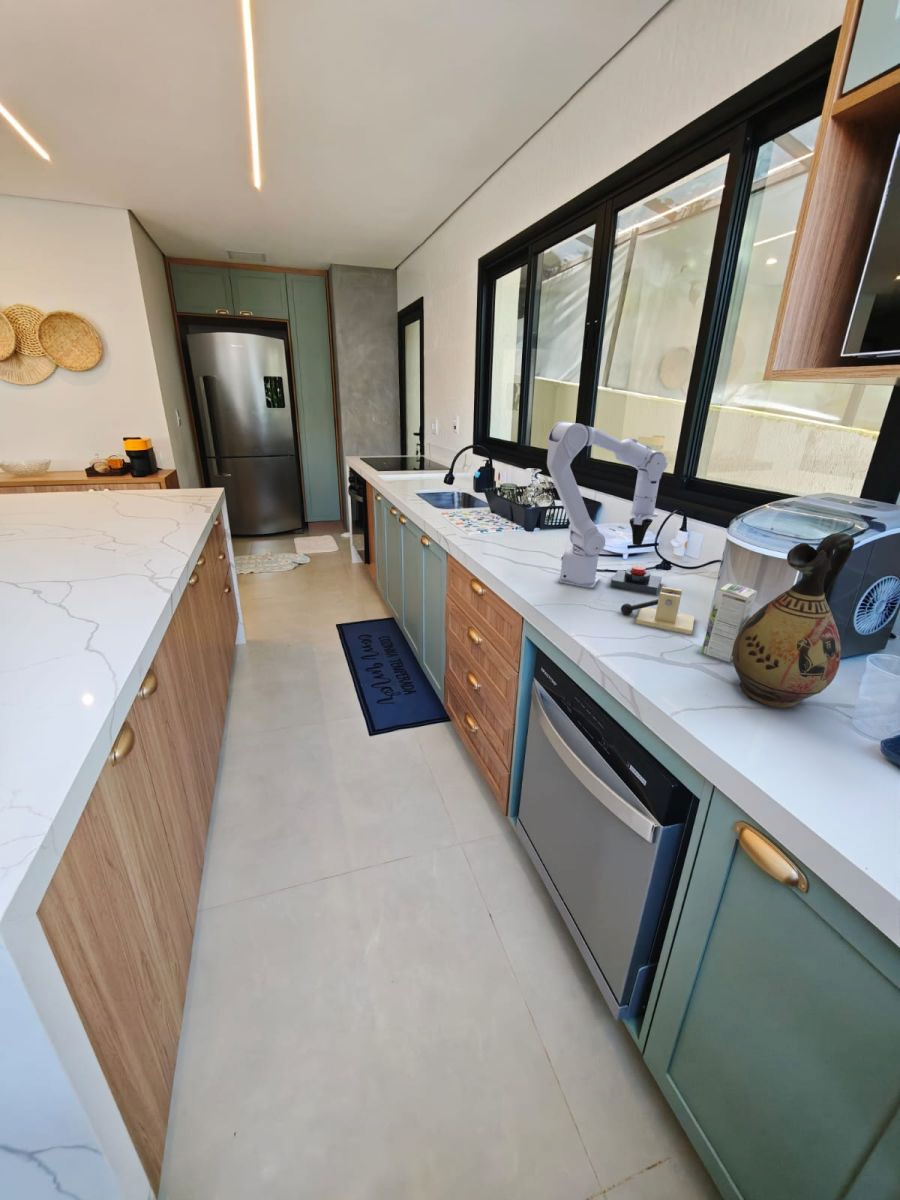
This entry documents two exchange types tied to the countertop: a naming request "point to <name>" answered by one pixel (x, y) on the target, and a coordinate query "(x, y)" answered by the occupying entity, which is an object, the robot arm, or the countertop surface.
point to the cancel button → (638, 570)
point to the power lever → (639, 605)
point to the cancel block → (636, 582)
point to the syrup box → (728, 620)
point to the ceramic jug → (794, 631)
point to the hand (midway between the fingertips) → (637, 544)
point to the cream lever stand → (667, 613)
